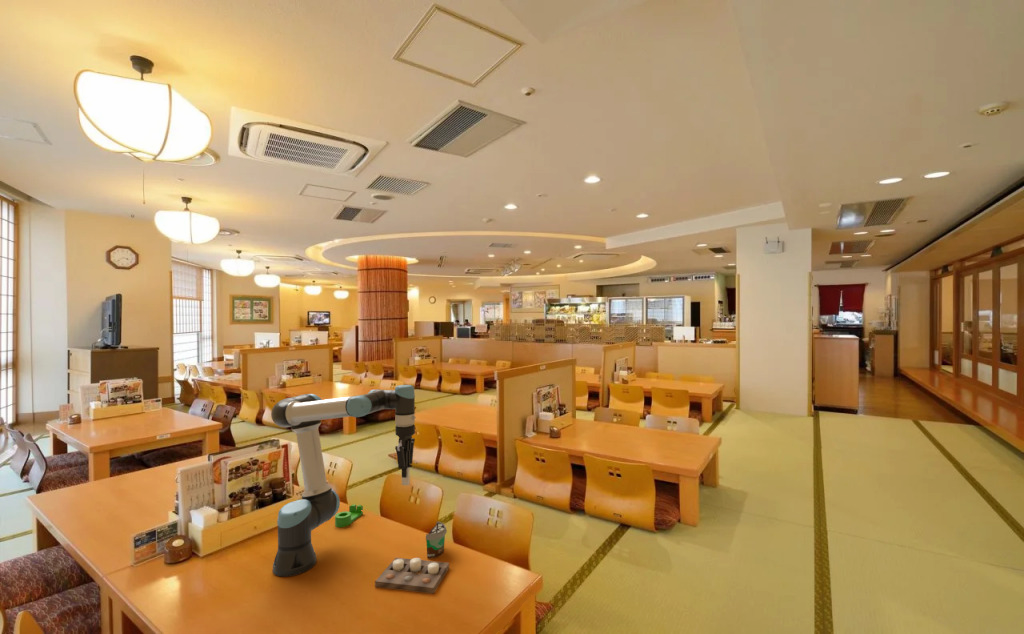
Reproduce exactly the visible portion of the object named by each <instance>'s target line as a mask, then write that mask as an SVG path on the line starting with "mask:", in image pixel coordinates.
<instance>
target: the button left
mask: <svg viewBox="0 0 1024 634" xmlns="http://www.w3.org/2000/svg"><path fill="white" fill-rule="evenodd" d="M393 560H394V559H393ZM393 560H392V561H393ZM403 569H404V560H402V559H397V560H394V561H393V570H394V571H402V570H403Z"/></svg>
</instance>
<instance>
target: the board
mask: <svg viewBox="0 0 1024 634" xmlns="http://www.w3.org/2000/svg"><path fill="white" fill-rule="evenodd" d="M397 559H402V560H404V569H403V570H402V571H394V570H393V561H394V560H397ZM411 559H412V558H402V557H394V559H393V560H392V561H391V562H390V563H389V565H388V566H386V568H385V569H384V571H383V572H382V573H381V574H380V575H379V576H378V577H377V579H375V581H374V582H375V583H374V587H375V588H382V589H383V588H384V589H389V590H391V589H392V590H397V591H398V590H399V591H405V592H407V591H409V592H416V593H424V594H425V593H426V594H431V595H433V594H434V593H435V592H436V590H437V588H438V587H439V585H440V584H441V582H442V580H443V579H444V578H445V576H446V574H447V572H448V571H449V569H450V563H449V562H444V561H443V562H442V561H434V560H433V561H432V560H426V559H425V560H424V559H421V571H419V572H417V573H413V572H410V560H411ZM430 563H438V564H439V573H438V575H431V574H428V565H429V564H430Z"/></svg>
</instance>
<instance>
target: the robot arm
mask: <svg viewBox="0 0 1024 634" xmlns="http://www.w3.org/2000/svg"><path fill="white" fill-rule="evenodd" d="M415 398H416V395H415V386H414V385H412V384H400V385H396V386H395V387H394V389H381V388H378V389H371V390H369V392H368V393H365V394H359V395H352V396H351V395H350V396H344V397H343V396H342V397H336V398H327V399H322V398H321V397H319V396H318V395H317V394H314V393H307V394H306V393H304V394H300V395H297V396H292V397H287V398H283V399H281V400H279V401H277V402H276V403H275V404H274V405H273V407H272V409H271V414H270V415H271V416H270V417H271V420H272V422H273V423H274V424H275V425H276V426H278V427H280V428H290V429H291V431H292V432H294V433H295V436H296V442H297V447H298V453H299V454H298V455H299V459H300V466H301V467H300V468H301V472H302V479H303V486H304V491H303V492H302V493H301V499H297V500H294V501H290V502H288V503H287V504H284V505H283V506H282V507H281V508H279V511H278V514H277V521H276V525H277V550H276V554H275V556H274V560H273V563H272V573H273V574H274V575H275V576H277V577H283V578H284V577H294V576H297V575H301V574H303V573H305V572H308V571H309V570H311V569H312V568H313V567H314V566H315V565H316V563H317V554H316V551H315V550H314V547H313V544H312V531H313V530H315V529H316V528H318V527H320V526H321V525H323V524H325V523H326V522H328V521H330V520H331V519H332V518H334V517H335V515H336V514H337V513H338V511H339V509H340V506H341V503H340V502H341V500H340V497H339V494H338V493H336V491H335V490H334V489H333V488H332V486H331V485H330V484H328V483H327V482H328V481H327V476H326V475H327V474H326V470H325V462H324V458H323V451H322V445H321V437H320V432H319V427H320V426H321V424H322V421H323V420H330V419H332V420H333V419H339V418H349V417H353V418H361V417H366V415H369V414H372V413H375V412H377V411H382V410H395V411H394V412H395V413H394V415H395V416H394V417H395V421H394V422H395V423H394V424H395V433H394V434H395V435H396V437H398V445H396V446H395V447H394V448H395V451H396V457H397V458H396V459H397V467H398V469H400V470H401V486H409V485H410V483H411V481H410V480H411V478H410V477H411V471H410V470H411V469H410V468H412V467H413V465H412V464H413V456H414V448H415V446H414V445H415V442H416V439H415V438H413V435H415V434H416V425H415V422H416V413H415V412H416V411H415V407H416V406H415Z"/></svg>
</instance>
